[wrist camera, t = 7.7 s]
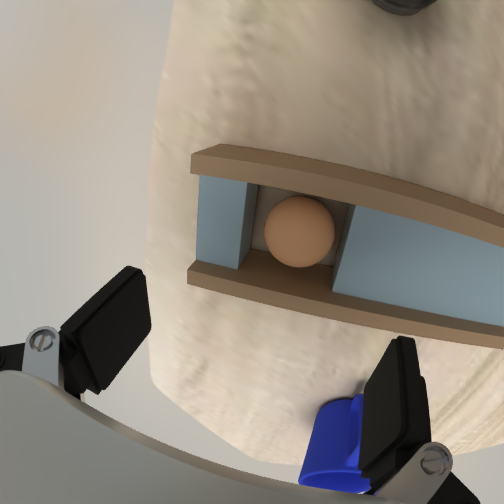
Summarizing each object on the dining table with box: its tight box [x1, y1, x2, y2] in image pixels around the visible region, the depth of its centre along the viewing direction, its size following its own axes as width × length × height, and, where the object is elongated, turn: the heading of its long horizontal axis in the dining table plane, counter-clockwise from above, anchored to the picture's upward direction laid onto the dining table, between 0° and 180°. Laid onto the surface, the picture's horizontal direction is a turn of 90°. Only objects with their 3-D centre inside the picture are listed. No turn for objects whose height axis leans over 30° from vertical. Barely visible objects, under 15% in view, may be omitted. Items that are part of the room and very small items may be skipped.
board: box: [187, 144, 504, 349], centre depth 19 cm, size 26×9×5 cm, turn 83°
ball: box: [264, 196, 335, 267], centre depth 20 cm, size 5×5×5 cm
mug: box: [298, 394, 371, 493], centre depth 26 cm, size 8×12×10 cm
